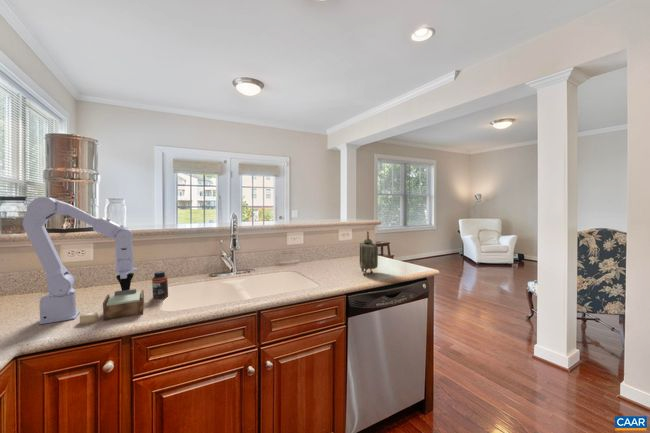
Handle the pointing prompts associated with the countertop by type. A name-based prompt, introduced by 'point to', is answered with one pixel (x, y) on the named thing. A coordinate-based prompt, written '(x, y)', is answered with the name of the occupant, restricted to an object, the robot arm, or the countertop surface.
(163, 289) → the supplement bottle
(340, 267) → the countertop surface
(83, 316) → the beige square block
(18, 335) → the countertop surface
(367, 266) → the green suitcase
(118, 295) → the lid
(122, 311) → the box
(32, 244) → the robot arm
